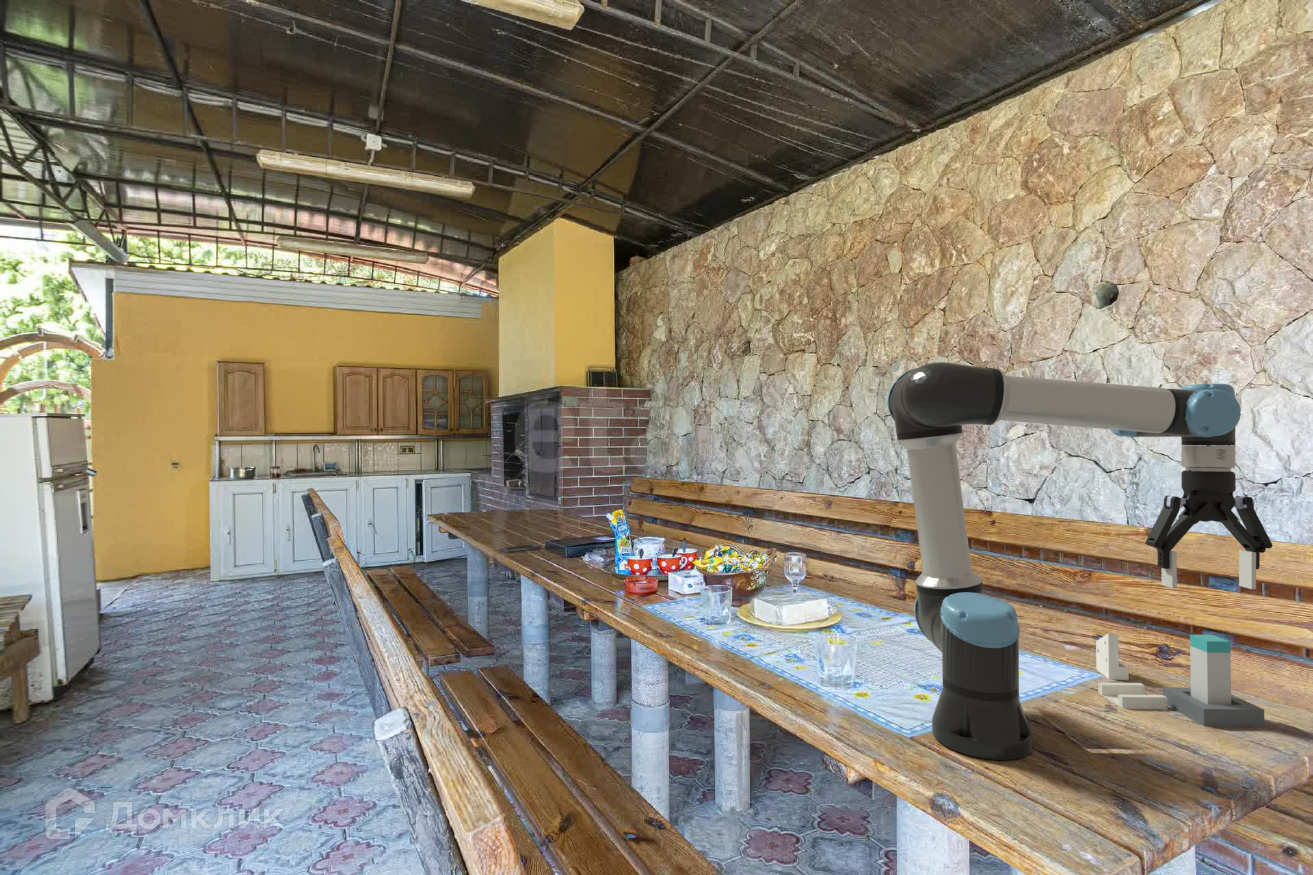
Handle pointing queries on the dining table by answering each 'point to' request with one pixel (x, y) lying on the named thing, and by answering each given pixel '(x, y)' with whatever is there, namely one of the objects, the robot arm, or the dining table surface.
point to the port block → (1214, 709)
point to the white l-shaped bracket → (1110, 658)
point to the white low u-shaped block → (1131, 696)
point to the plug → (1210, 669)
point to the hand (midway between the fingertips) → (1208, 587)
